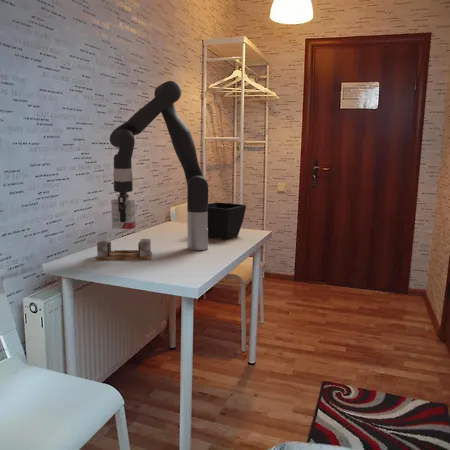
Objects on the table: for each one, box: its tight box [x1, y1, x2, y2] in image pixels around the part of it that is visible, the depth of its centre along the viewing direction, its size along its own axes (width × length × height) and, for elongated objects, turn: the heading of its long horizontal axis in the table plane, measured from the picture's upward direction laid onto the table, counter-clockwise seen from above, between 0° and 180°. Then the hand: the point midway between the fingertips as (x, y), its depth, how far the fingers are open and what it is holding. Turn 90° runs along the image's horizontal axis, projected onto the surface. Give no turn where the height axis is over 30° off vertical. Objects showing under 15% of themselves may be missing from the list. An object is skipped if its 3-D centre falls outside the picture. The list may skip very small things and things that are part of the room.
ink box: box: [110, 198, 136, 230], centre depth 183 cm, size 9×5×12 cm, turn 78°
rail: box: [95, 238, 153, 262], centre depth 185 cm, size 22×10×7 cm, turn 96°
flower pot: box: [208, 201, 247, 241], centre depth 232 cm, size 19×19×17 cm
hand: (123, 220), depth 183 cm, fingers closed on ink box, 5 cm apart
